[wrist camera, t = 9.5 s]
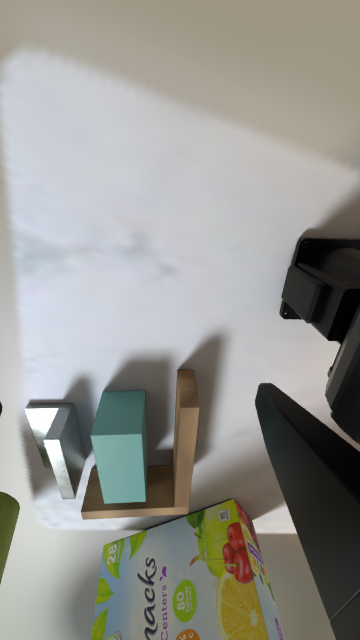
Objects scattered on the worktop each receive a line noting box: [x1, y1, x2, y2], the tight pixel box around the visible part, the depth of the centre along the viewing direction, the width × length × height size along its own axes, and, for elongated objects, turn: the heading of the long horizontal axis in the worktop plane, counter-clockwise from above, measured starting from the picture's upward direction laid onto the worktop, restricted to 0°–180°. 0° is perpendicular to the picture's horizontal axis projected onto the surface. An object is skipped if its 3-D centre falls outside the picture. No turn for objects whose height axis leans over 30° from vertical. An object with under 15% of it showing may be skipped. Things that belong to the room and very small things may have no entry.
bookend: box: [25, 403, 85, 499], centre depth 25 cm, size 4×9×4 cm, turn 178°
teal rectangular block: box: [91, 391, 148, 504], centre depth 25 cm, size 4×10×5 cm, turn 178°
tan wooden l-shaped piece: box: [81, 370, 200, 520], centre depth 25 cm, size 11×16×4 cm
